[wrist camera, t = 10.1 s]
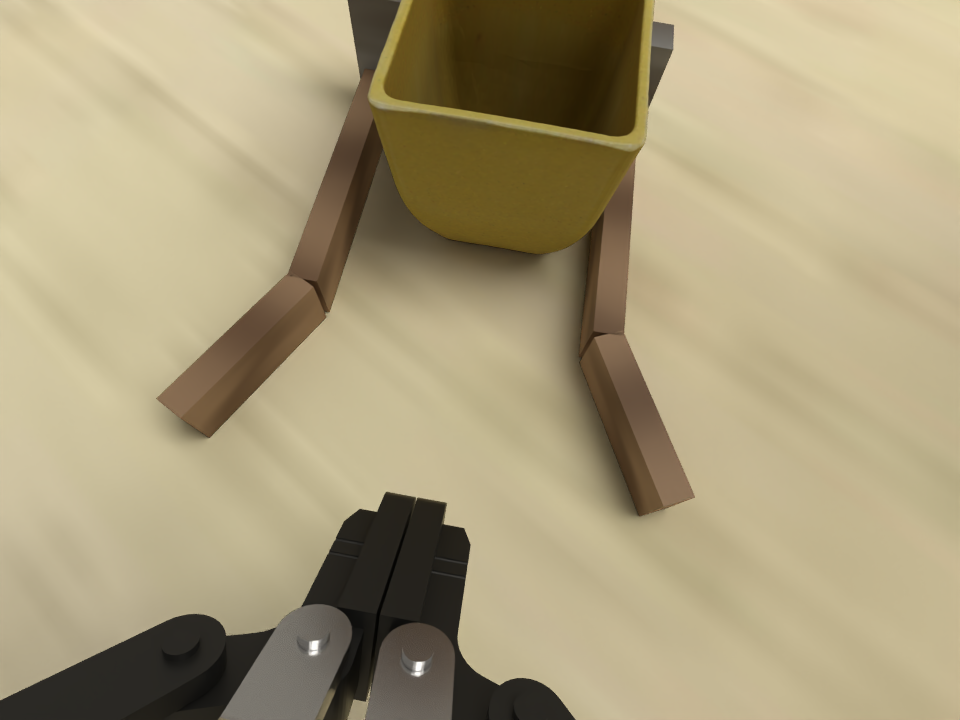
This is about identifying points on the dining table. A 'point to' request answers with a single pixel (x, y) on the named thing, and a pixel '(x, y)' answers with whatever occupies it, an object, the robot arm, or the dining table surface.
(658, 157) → the dining table surface
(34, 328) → the dining table surface
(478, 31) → the flower pot
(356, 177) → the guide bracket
